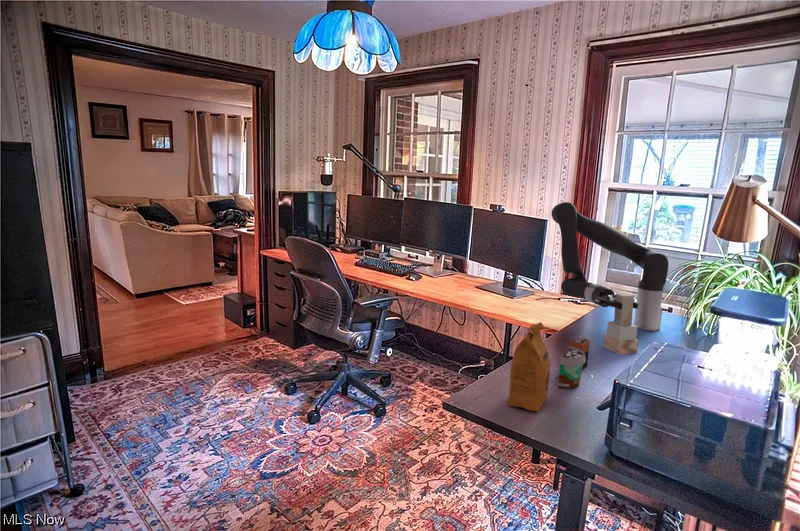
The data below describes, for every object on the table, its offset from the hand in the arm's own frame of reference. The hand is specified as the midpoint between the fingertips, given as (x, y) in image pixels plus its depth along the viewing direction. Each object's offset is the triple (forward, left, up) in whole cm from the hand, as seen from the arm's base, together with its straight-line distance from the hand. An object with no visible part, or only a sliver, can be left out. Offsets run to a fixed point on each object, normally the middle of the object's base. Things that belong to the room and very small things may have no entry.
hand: (629, 306), depth 163 cm
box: (0, -3, -7) cm, 8 cm away
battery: (+26, +10, -17) cm, 33 cm away
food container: (+36, +22, -17) cm, 45 cm away
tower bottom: (0, -2, -17) cm, 17 cm away
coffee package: (+55, +30, -17) cm, 65 cm away
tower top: (0, -2, -12) cm, 13 cm away
